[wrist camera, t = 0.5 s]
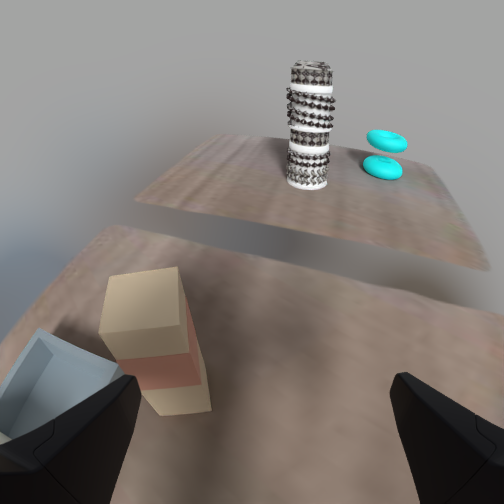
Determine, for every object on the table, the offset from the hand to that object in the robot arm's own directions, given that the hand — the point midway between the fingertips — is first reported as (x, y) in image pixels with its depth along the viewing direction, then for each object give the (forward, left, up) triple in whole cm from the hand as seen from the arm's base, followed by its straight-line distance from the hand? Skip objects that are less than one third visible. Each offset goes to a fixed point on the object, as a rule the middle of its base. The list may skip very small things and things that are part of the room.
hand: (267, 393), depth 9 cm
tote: (-6, +20, -16) cm, 26 cm away
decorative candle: (+52, +2, -16) cm, 55 cm away
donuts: (+63, -16, -16) cm, 67 cm away
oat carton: (+5, +9, -16) cm, 19 cm away
